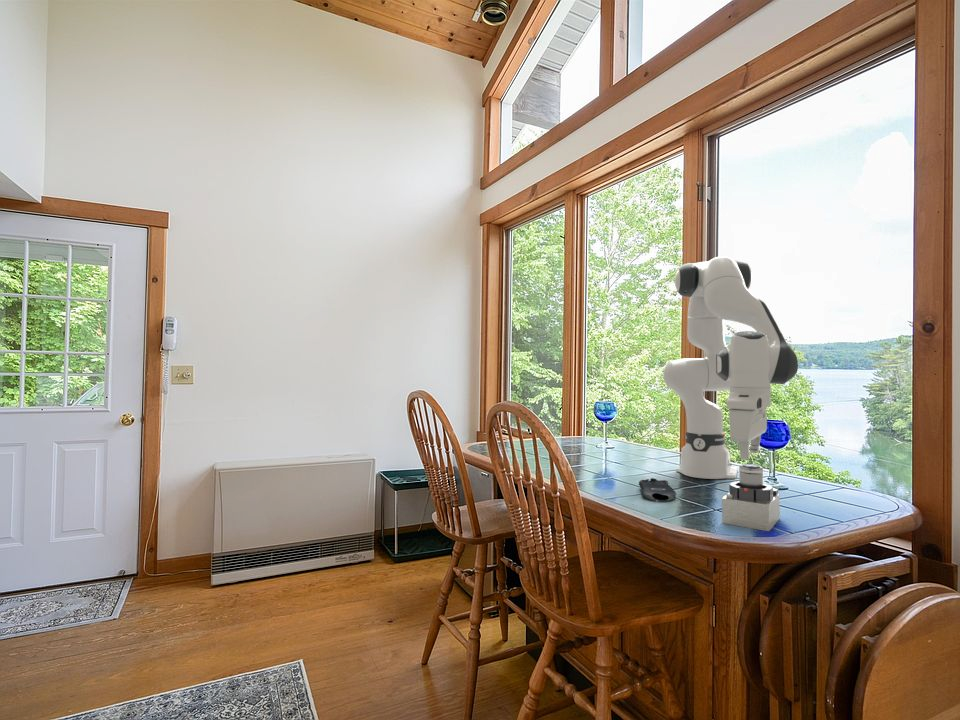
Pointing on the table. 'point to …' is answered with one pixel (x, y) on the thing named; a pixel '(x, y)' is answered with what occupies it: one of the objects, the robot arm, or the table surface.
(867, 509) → the table surface
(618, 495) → the table surface
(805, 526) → the table surface
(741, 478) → the lens
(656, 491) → the electronic device
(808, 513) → the table surface
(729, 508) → the camera body
